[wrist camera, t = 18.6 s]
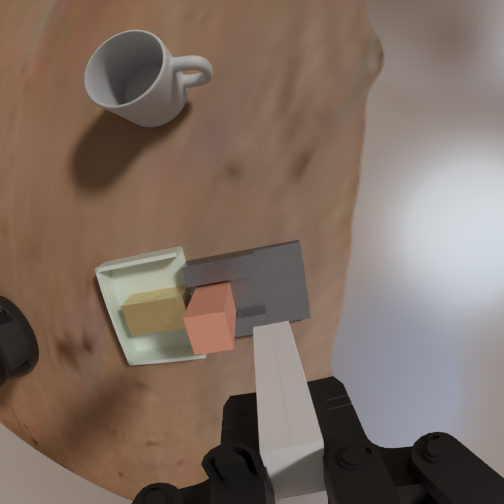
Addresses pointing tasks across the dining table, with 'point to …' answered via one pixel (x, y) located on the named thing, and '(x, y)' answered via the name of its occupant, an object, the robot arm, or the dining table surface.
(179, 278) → the tray
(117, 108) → the mug
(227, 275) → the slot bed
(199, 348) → the salmon pink flat-faced block
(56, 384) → the dining table surface
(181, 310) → the chip
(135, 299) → the chip
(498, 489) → the robot arm
